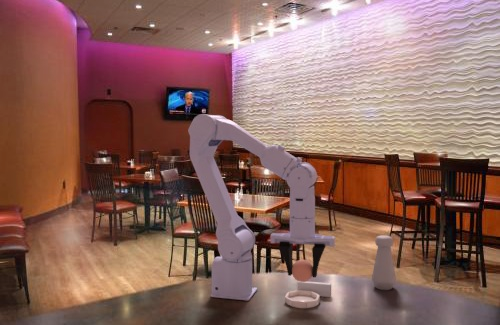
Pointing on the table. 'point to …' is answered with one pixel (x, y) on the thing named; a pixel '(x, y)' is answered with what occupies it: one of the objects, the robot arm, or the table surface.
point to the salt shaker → (384, 264)
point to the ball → (302, 270)
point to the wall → (315, 288)
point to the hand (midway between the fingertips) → (302, 275)
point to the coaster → (302, 299)
